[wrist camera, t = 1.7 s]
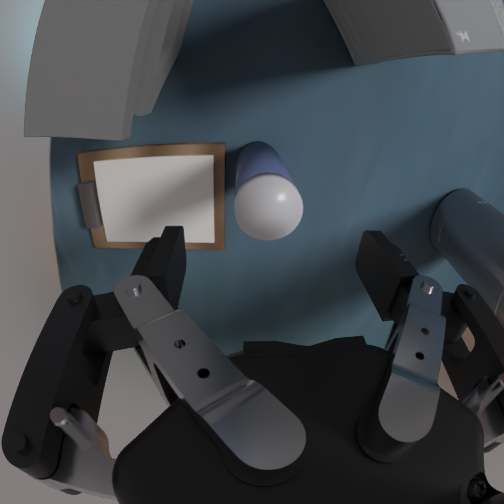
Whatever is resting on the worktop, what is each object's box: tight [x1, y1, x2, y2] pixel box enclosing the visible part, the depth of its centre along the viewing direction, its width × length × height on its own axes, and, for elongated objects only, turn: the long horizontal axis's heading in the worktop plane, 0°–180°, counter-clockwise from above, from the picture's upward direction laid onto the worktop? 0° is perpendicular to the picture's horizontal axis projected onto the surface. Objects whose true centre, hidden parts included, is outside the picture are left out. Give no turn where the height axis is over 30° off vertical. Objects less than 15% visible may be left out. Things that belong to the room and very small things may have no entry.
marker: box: [234, 141, 303, 241], centre depth 21 cm, size 4×4×12 cm
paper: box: [93, 155, 215, 243], centre depth 27 cm, size 12×9×1 cm
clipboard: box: [77, 143, 225, 250], centre depth 27 cm, size 15×11×2 cm
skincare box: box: [323, 0, 504, 66], centre depth 12 cm, size 8×7×16 cm
